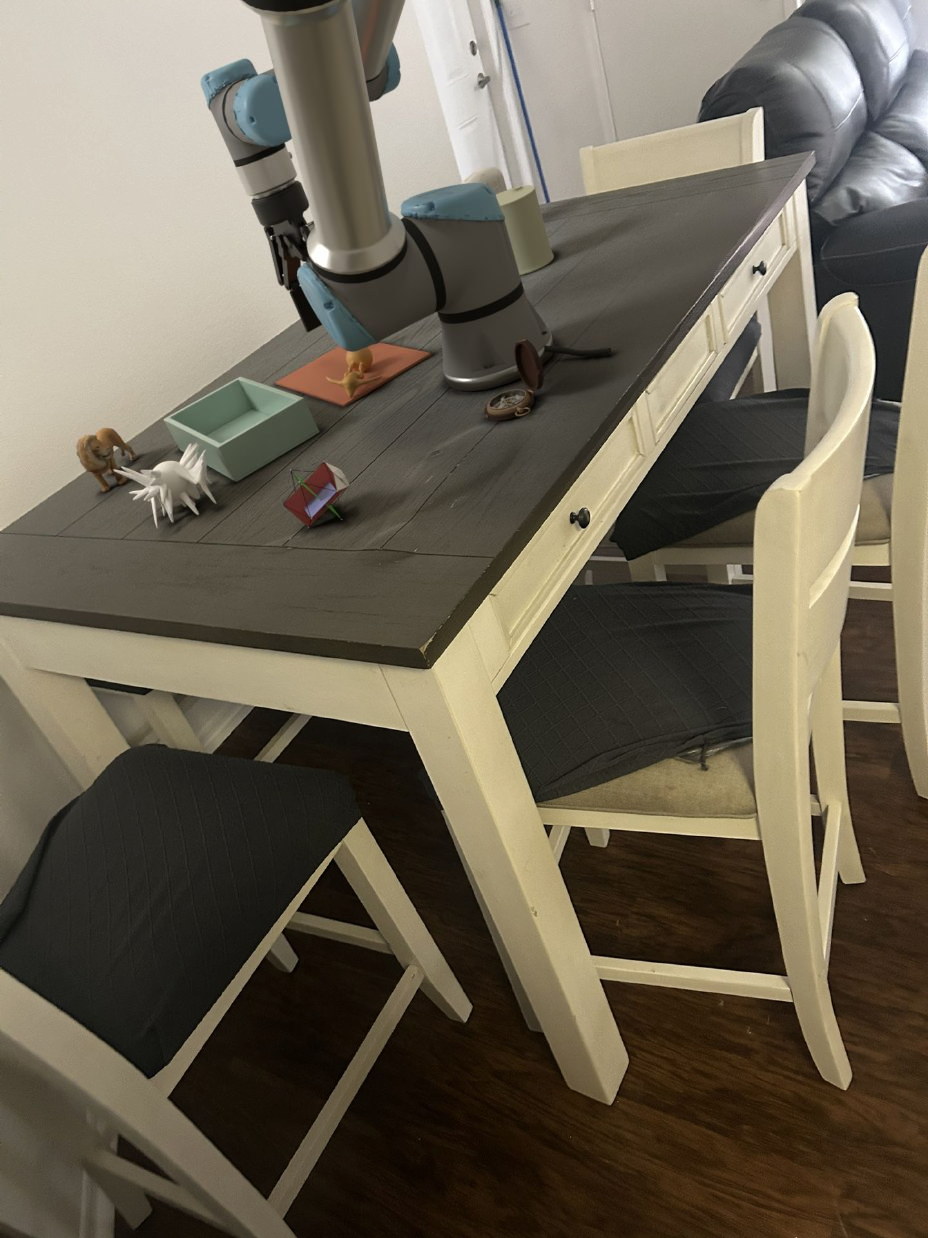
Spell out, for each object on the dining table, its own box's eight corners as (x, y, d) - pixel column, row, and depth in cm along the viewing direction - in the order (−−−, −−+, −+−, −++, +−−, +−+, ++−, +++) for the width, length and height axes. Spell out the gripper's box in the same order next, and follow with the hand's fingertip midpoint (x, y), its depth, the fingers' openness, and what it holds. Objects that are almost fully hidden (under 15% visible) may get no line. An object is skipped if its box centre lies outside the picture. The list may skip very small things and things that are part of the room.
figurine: (336, 359, 142) (326, 416, 136) (329, 327, 137) (318, 385, 131) (389, 358, 142) (382, 415, 135) (384, 327, 137) (377, 384, 130)
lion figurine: (132, 489, 134) (99, 434, 129) (98, 503, 134) (63, 449, 129) (139, 451, 146) (109, 400, 141) (108, 464, 146) (77, 413, 141)
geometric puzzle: (284, 535, 101) (300, 465, 98) (271, 512, 107) (285, 446, 104) (346, 543, 104) (363, 475, 101) (330, 521, 110) (346, 456, 107)
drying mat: (431, 355, 138) (430, 352, 137) (344, 406, 132) (343, 404, 132) (355, 339, 156) (354, 337, 156) (276, 384, 150) (275, 382, 150)
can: (563, 250, 157) (544, 177, 150) (538, 273, 152) (517, 198, 145) (517, 257, 163) (497, 187, 156) (492, 279, 157) (470, 207, 150)
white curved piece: (505, 228, 181) (486, 161, 174) (521, 226, 178) (502, 159, 171) (469, 250, 177) (449, 183, 170) (485, 249, 173) (464, 181, 167)
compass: (478, 414, 115) (459, 360, 111) (533, 386, 116) (516, 332, 112) (504, 432, 109) (486, 375, 104) (562, 403, 110) (546, 345, 106)
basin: (319, 432, 128) (303, 397, 125) (236, 482, 123) (218, 447, 120) (255, 407, 145) (240, 376, 142) (180, 450, 140) (163, 419, 137)
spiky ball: (229, 520, 117) (205, 460, 112) (136, 550, 116) (107, 491, 111) (223, 485, 126) (200, 428, 121) (137, 512, 125) (111, 457, 120)
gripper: (337, 174, 120) (395, 328, 132) (261, 180, 139) (318, 314, 151) (289, 197, 118) (353, 352, 130) (218, 200, 137) (279, 335, 149)
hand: (334, 332), depth 140 cm, fingers open, 13 cm apart
